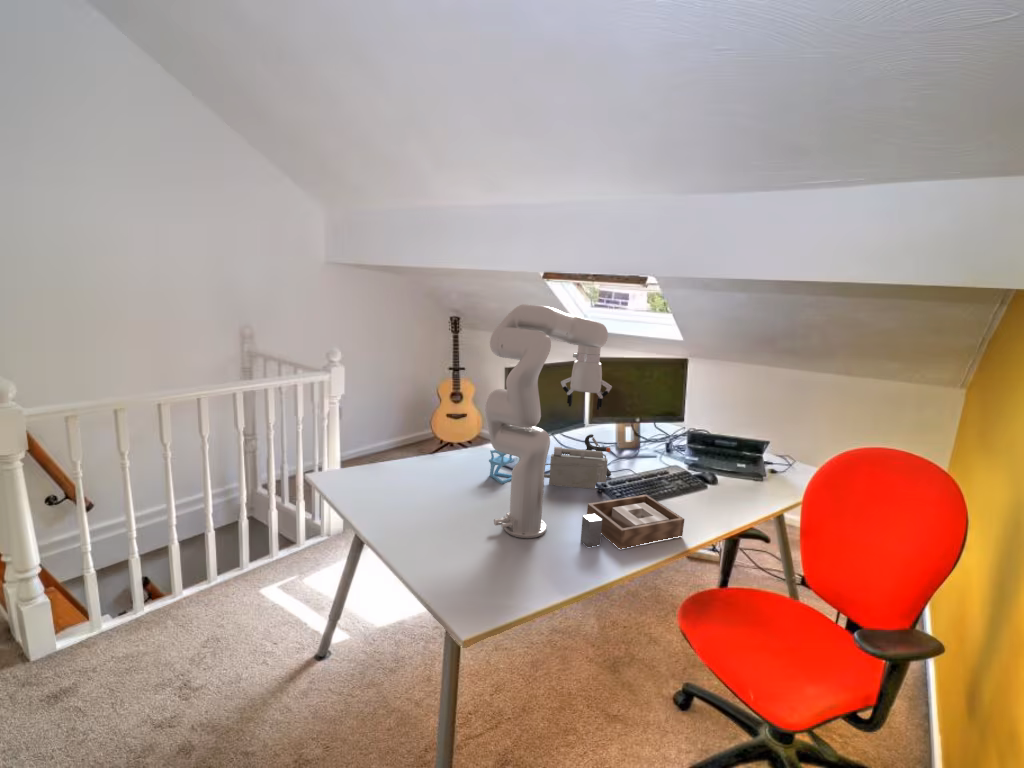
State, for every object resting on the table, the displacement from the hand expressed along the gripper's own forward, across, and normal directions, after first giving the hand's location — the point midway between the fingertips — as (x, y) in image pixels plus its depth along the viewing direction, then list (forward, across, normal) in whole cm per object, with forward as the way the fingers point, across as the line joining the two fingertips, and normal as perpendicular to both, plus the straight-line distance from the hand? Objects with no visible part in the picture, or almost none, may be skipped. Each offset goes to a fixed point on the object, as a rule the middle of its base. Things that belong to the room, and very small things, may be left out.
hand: (584, 407), depth 188 cm
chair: (+30, -28, -1) cm, 41 cm away
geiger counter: (+30, -3, +1) cm, 30 cm away
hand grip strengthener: (+30, +5, +16) cm, 34 cm away
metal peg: (+30, +9, -38) cm, 49 cm away
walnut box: (+30, +20, -25) cm, 44 cm away
